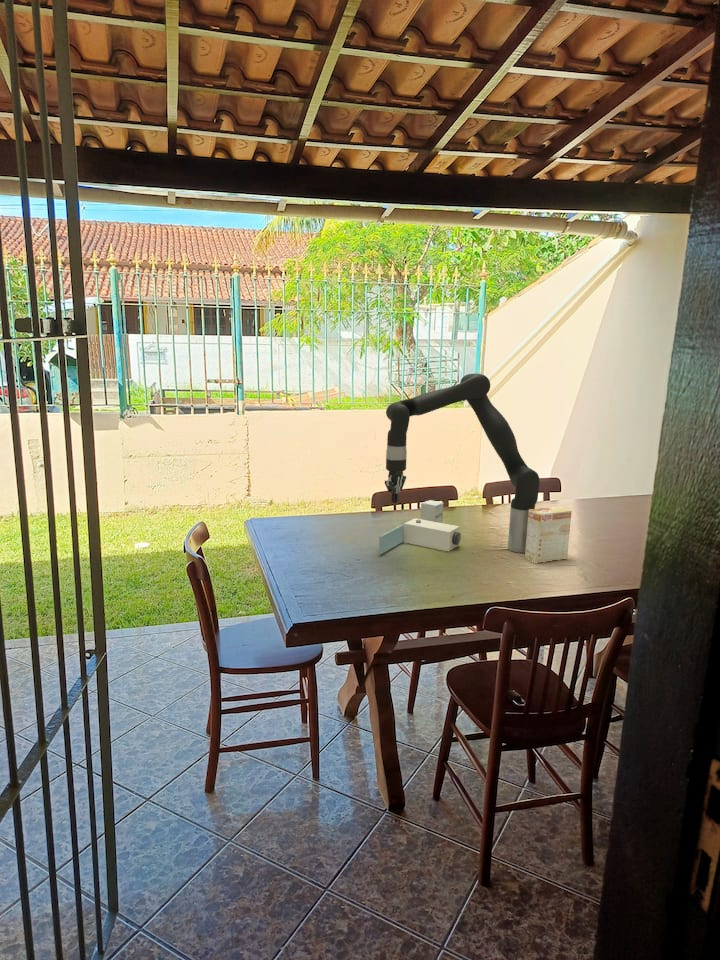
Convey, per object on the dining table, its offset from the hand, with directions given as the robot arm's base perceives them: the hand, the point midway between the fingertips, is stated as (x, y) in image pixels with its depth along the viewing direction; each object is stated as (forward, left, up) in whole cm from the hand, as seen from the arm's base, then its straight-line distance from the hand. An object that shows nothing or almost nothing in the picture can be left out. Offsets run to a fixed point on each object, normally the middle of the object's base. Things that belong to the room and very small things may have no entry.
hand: (394, 502), depth 235 cm
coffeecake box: (-50, -30, -21) cm, 62 cm away
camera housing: (-6, -21, -21) cm, 30 cm away
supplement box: (+2, -37, -21) cm, 43 cm away
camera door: (+4, -6, -20) cm, 21 cm away
